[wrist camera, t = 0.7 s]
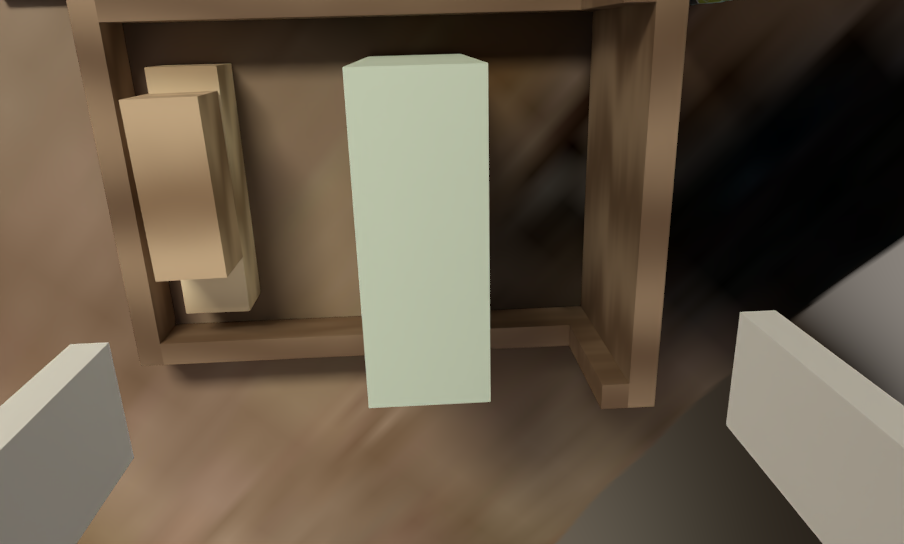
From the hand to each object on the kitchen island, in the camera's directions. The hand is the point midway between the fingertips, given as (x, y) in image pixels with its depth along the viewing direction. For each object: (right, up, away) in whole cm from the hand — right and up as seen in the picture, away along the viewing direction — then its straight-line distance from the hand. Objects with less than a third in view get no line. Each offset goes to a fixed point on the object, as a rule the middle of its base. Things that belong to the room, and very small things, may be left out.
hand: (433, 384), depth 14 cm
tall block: (-1, +7, +21) cm, 22 cm away
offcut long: (-12, +7, +21) cm, 25 cm away
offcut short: (-12, +7, +18) cm, 22 cm away
